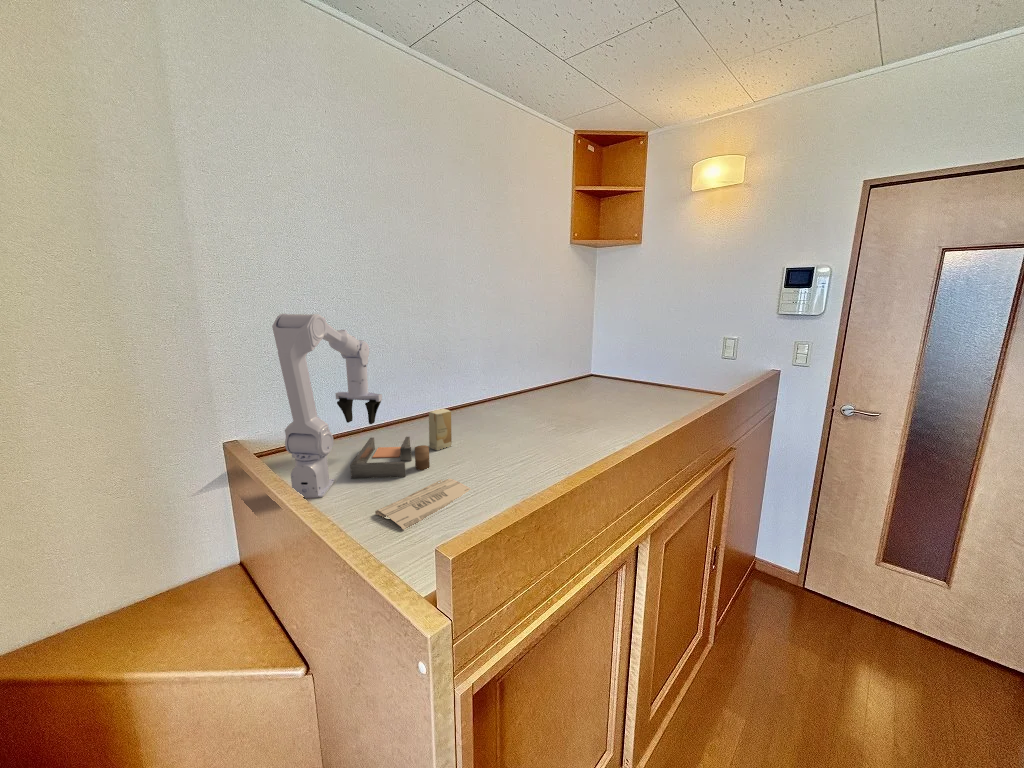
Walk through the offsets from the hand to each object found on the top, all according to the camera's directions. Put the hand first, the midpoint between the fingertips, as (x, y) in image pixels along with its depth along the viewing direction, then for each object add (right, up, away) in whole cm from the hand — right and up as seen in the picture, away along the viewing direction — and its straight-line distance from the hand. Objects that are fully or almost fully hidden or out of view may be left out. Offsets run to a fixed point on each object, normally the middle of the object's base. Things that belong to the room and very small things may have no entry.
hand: (360, 422), depth 126 cm
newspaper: (+26, -17, -29) cm, 43 cm away
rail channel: (+10, -11, -6) cm, 16 cm away
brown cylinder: (+21, -12, -9) cm, 26 cm away
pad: (+8, -10, +2) cm, 13 cm away
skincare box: (+24, -9, +7) cm, 26 cm away
